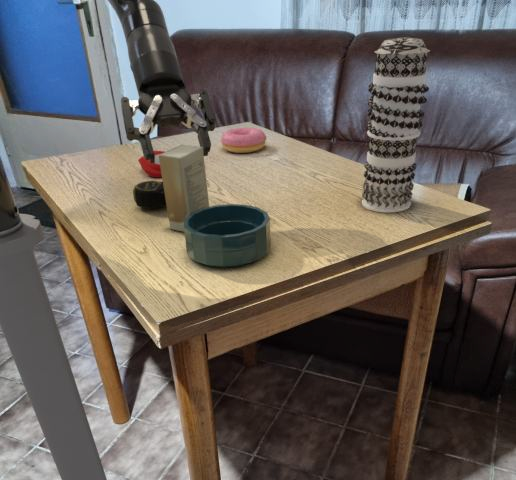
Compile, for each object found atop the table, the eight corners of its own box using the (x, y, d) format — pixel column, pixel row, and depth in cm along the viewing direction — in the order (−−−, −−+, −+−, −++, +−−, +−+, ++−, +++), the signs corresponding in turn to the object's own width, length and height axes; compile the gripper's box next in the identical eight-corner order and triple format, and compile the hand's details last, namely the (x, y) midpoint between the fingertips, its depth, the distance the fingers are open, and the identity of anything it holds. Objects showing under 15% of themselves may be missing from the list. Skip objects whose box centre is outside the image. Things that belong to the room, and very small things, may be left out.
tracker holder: (164, 175, 105) (127, 158, 108) (167, 192, 109) (130, 175, 112) (200, 147, 112) (163, 131, 115) (201, 164, 115) (166, 149, 118)
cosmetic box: (191, 216, 89) (182, 143, 82) (211, 220, 87) (204, 145, 80) (168, 230, 85) (156, 153, 78) (189, 234, 83) (179, 156, 76)
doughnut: (217, 145, 128) (216, 127, 125) (260, 140, 129) (260, 123, 127) (226, 156, 119) (224, 137, 116) (271, 151, 121) (271, 133, 118)
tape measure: (170, 211, 92) (167, 190, 90) (132, 212, 92) (128, 192, 90) (175, 198, 97) (172, 178, 95) (139, 199, 97) (135, 179, 95)
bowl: (189, 274, 72) (184, 240, 69) (186, 238, 82) (182, 208, 79) (276, 265, 73) (275, 231, 70) (263, 231, 83) (262, 200, 80)
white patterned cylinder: (369, 216, 86) (385, 44, 72) (352, 197, 94) (363, 38, 79) (421, 210, 87) (446, 40, 73) (400, 192, 95) (419, 34, 80)
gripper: (108, 51, 77) (133, 149, 75) (200, 44, 81) (227, 137, 78) (111, 86, 84) (134, 175, 82) (195, 78, 88) (220, 163, 86)
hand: (179, 156), depth 80 cm, fingers open, 8 cm apart
